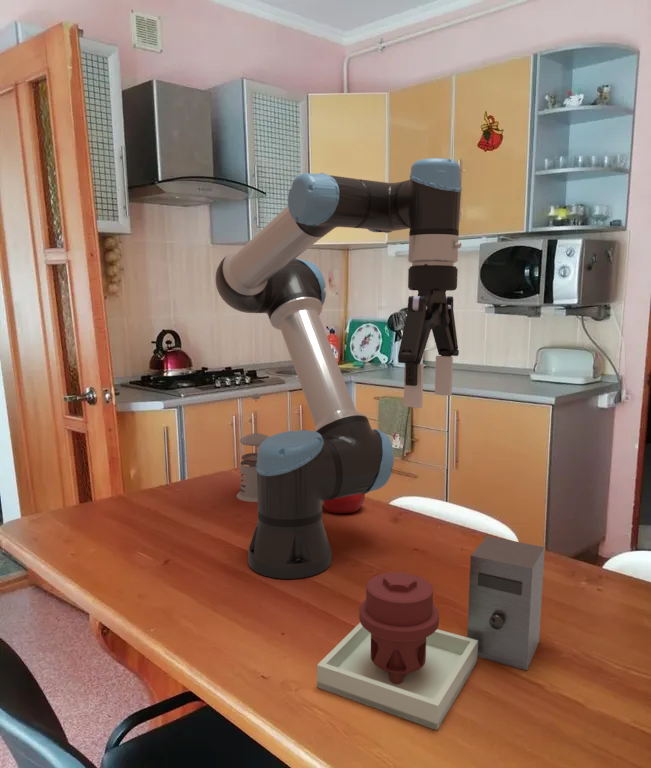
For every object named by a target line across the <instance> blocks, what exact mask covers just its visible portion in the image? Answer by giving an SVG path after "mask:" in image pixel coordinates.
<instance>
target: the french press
mask: <svg viewBox="0 0 651 768" xmlns="http://www.w3.org/2000/svg"><path fill="white" fill-rule="evenodd" d="M251 399H252V400H255V401H257V400H260V399H261V396H260V394H259V393H253V394H252V396H251ZM257 416H258V415H257V412H255V432H254V433H250V434H246V435H245V436H243V437H241V438H240V439H239V443H241V444H242V445H245V446H250V447H255V452H250V453H245V454H242V456H241V460H242V461H241V462H240V463H239V465H240V468H239V469H240V491H239V492H238V493H237V494H236V498H237V499H238V500H240V501H243V502H249V503H258V500H257V470H256V464H257V456H258V448H259V446H260V444H261V443H262V442H263V441H264V440H265V439H267V438H268V437H270V436H269V435H267V434H265V433H259V432H257V430H258V428H257V422H258V421H257Z"/></svg>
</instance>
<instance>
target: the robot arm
mask: <svg viewBox="0 0 651 768" xmlns="http://www.w3.org/2000/svg"><path fill="white" fill-rule="evenodd" d="M461 176H462V175H461V166H460V163H458V162H457V161H456V160H454V159H449V158H441V157H434V158H433V157H432V158H422V159H419V160H416V161H415V162H414V163H412V165H411V167H410V174H409V179H407V180H404V181H398V182H385V181H377V180H369V179H360V178H352V177H345V176H339V175H330V174H328V173H323V172H321V173H318V172H317V173H311V172H310V173H309V172H308V173H301V174H299V175H297V176H296V177H295V178H294V179H293V181H292V184H291V187H290V188H289V191H288V196H287V205H286V206H285V208H283V209H282V210H281V211H280V212H279V213H278V214H277V215H276V216H275V217H274V218H273V219H272V220H270V222H269V223H267V225H265V226H264V227H263V228H262V229H261V230H260V231H259V232H257V234H255V236H254V237H252V238H251V239H250V240H249V241H248V242H247V243H246V244H245V245H244V246H243V247H242V248H235V249H233V250H231V251H230V252H228V253H227V255H225V256H224V258H222V259H221V261H220V263H219V264H218V266H217V268H216V272H215V286H216V290H217V292H218V295H219V296H220V297H221V299H222V300H223V302H225V303H226V305H228V306H229V307H230V308H232V309H234V310H236V311H238V312H241V313H247V314H266V315H267V316H268V319H269V322H270V324H271V326H272V327H273V328H274V329H277V330H279V331H281V334H282V336H283V340H284V343H285V345H286V348H287V351H288V353H289V357H290V359H291V361H292V364H293V367H294V370H295V372H296V375H297V378H298V382H299V384H300V387H301V389H302V393H303V395H304V398H305V401H306V404H307V406H308V409H309V412H310V415H311V417H312V420H313V423H314V426H315V428H314V430H310V429H307V430H306V429H300V430H288V431H283V432H280V433H279V432H278V433H275V434H272V435H270V436H269V437H268V438H267V439H265V440H264V441H263V442H262V443H261V444H260V446H258V447H259V448H258V447H257V453H258V456H257V464H256V470H257V500H258V502H257V522H256V526H255V528H254V531H253V535H252V537H251V541H250V544H249V548H248V552H247V553H248V554H247V555H248V556H247V557H248V559H247V560H248V563H247V564H248V566H249V567H250V569H251V570H253V572H255V573H257V574H259V575H261V576H265V577H269V578H274V579H283V580H284V579H285V580H286V579H289V580H290V579H291V580H292V579H303V578H308V577H312V576H313V577H314V576H315V575H318V574H320V573H323V572H324V571H326V570H327V569H328V568H329V567H330V566H331V564H332V547H331V544H330V541H329V538H328V535H327V532H326V529H325V526H324V523H323V501H326V500H331V499H336V498H341V497H346V496H351V495H357V494H365V495H366V494H368V493H370V492H373V491H377V490H379V489H381V488H383V487H384V486H386V485H387V483H388V482H389V480H390V478H391V477H392V474H393V467H394V463H395V462H394V461H395V456H394V449H393V444H392V441H391V439H390V437H389V436H388V435H387V433H386V432H383V431H382V430H380V429H377V428H372V426H371V423H370V421H369V419H368V417H367V415H365V414H363V413H361V412H358V411H357V410H356V407H355V404H354V402H353V400H352V399H353V398H352V397H351V394H350V392H349V389H348V386H347V384H346V382H345V379H344V376H343V374H342V372H341V369H340V366H339V364H338V361H337V359H336V357H335V354H334V351H333V348H332V346H331V342H330V341H329V338H328V335H327V333H326V330H325V328H324V326H323V325H324V324H323V323H322V321H321V318H320V316H321V313H322V312H323V307H324V304H325V301H326V295H327V292H326V290H325V288H326V286H327V285H326V282H325V277H324V275H323V273H322V271H321V270H320V268H319V267H318V266H317V265H316V264H315V263H314V262H312V261H309V260H306V259H299V258H298V257H299V256H300V255H302V254H303V253H305V251H307V250H308V249H310V247H312V246H313V245H314V244H316V243H317V242H319V241H320V240H321V239H322V238H323V237H325V236H326V235H328V233H331V232H332V231H333V230H335V228H351V229H352V228H353V229H363V230H364V229H365V230H368V231H369V232H372V233H385V234H389V233H392V232H395V231H401V230H409V233H408V234H409V236H408V260H407V261H408V262H409V263H410V264H411V266H409V267H408V270H407V271H408V272H407V273H408V274H407V276H408V277H407V278H408V279H407V287H408V290H410V291H417V295H415V296H414V295H409V296H408V299H407V311H406V316H405V321H404V325H403V330H402V335H401V340H400V345H399V349H398V352H397V353H398V354H397V362H398V364H404V371H403V372H404V373H403V378H404V379H403V380H404V381H403V407H407V408H415V409H416V408H417V409H422V408H423V400H424V399H423V395H424V393H423V392H424V363H422V359H423V356H424V353H425V349H426V346H427V344H428V341H429V337H430V334H431V332H432V334H433V335H432V336H433V340H434V342H435V345H436V350H437V353H438V355H436V356H435V372H434V373H435V374H434V375H435V377H434V378H435V379H434V395H437V396H438V395H439V396H447V397H450V396H452V395H453V394H452V393H453V369H454V368H453V365H454V364H453V363H454V357H458V356H459V354H460V350H459V346H458V338H457V337H458V336H457V329H456V321H455V313H454V297H453V296H450V295H449V296H447V293H446V292H448V291H449V292H450V291H453V292H454V291H456V290H457V288H458V272H459V270H458V269H459V268H457V266H455V265H454V264H455V263H457V262H458V260H459V259H458V257H459V256H458V255H459V249H460V248H461V247H462V242H461V241H459V234H460V215H461V214H460V211H461V197H462V196H461V195H462V190H463V189H462V183H461V182H462V179H461Z"/></svg>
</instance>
